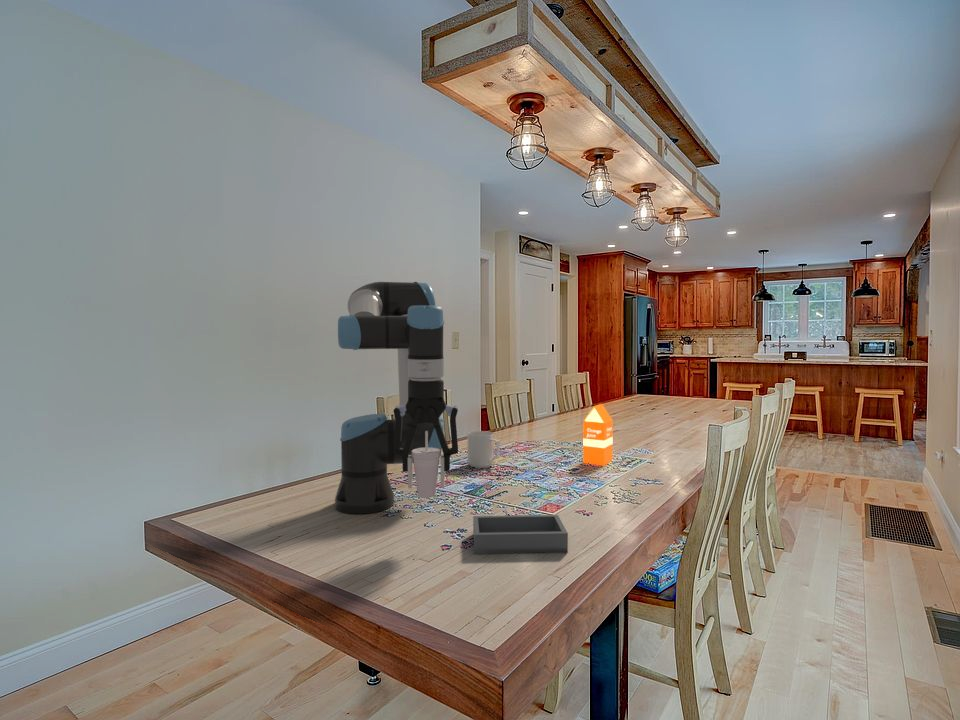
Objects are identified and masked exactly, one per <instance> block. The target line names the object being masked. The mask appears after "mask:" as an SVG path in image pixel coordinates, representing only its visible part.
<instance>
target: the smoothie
mask: <svg viewBox="0 0 960 720" xmlns="http://www.w3.org/2000/svg"><path fill="white" fill-rule="evenodd" d="M441 455H442V450H440V449H438V448H432V447H428V431H425V447H424V448H417V449H414V450H412V451H411V456H412V457H413V462H414V463H413V469H414V476H415V482H416V484H415V485H416V491H417V496H418V497H419V498H420V499H421V498H423V499H429V498H433V497H436V491H437V483H438V475H439V465H440V459H441Z"/></svg>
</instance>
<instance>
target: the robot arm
mask: <svg viewBox="0 0 960 720" xmlns="http://www.w3.org/2000/svg"><path fill="white" fill-rule="evenodd" d="M347 311H348V313H349V315H340V316H339V318H338V320H337V342H338V343H337V344H338V347H339V348H341V349H342V350H353V351H358V350H397V367H398V370H397V371H398V373H397V374H398V392H399V393H398V397H399V402H398V403H399V406H395V408H394V409H393V418H392V419H388V417H387V415H386V414H384V413H373V414H365V415H360V416H359V415H358V416H355V417H351V418H349V419H347V420H344V422H343V423H342V425H341V430H340V431H341V433H340V439H339V440H340V444H341V447H340V448H341V452H340V453H341V456H340V457H341V458H340V459H341V460H340V461H341V479H340V481H339V484H338V488H337V492H336V494H335V497H334V498H335V499H334V506H335V507H334V508H335V509H336V510H337V511H339V512H341V513H344V514H353V515H354V514H355V515H356V514H357V515H362V514H363V515H364V514H371V513H373V514H374V513H377V512H378V513H379V512H381V511H385V510H387V509H389V508H391V507H393V505H395V494H394V490H393V487H392V484H391V482H390V480H389V479H390V478H389V477H388V465H396V464H402V472H403V473H407V488H408V489H412V487H413V485H414V483H413V480H414V479H413V472H414V471H413V469H414V462H413V457H412V456H411V451H412V450H414V449H417V448H424V447H425V431H428V447H432V448H438V449H440V450H441V452H442V453H443V454H441V456H440V489H445V484H446V483H445V482H446V481H445V478H446V477H445V476H446V475H445V474H446V473H445V472H450V468H451V464H450V462H451V457H452V456H453V455H457V454H458V453H459V443H458V431H457V415H458V411H459V410H458V406H456V405H454V406H451V405H448V404H447V403H446V401H445V398H444V397H445V396H444V393H445V391H444V389H445V388H444V384H445V383H444V381H443V379H442V378H444V376H445V375H444V373H445V372H444V371H445V370H444V365H445V364H444V361H445V359H444V325H445V320H444V310H443V307H441V306H440V305H436V298H435V294H434V291H433V288H432V286H431V285H430V284H428V283H427V282H418V281H413V282H411V281H409V282H404V281H403V282H401V281H375V282H371V283H370V282H369V283H367V284H364V285H363V286H360V287H358V288H357V289H355V290H354V291H352V293H351V294H350V296H349V298H348V300H347ZM445 411H446V415H447V416H448V417H449V426H450V438H451V447H450V448H449V445H448V441H447V439H446V436H445V432H444V429H445V424H444V420H445V419H444V418H443V417H441V416H442V414H443V413H444V412H445Z"/></svg>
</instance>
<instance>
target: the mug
mask: <svg viewBox="0 0 960 720" xmlns="http://www.w3.org/2000/svg"><path fill="white" fill-rule="evenodd" d="M466 434H467V435H466V436H467V439H466V440H467V442H466V443H467V453H466V454H467V465H468V466H469V467H470V466H471V467H470V468H472V467H475V468H474V469H478V468H483V469H486V468H485V467H489V468H491V467H492V466H493V465H494V463H495V460H497V459H498V458H499V456H500V447H501V445H500V443H501V440H499V439H497V438H494V432H492V431H488V430H487V431H486V430H476V431H469V432H468V433H466ZM494 442H495V443H496V445H495V446H496V449H495V448H494V444H495V443H494ZM494 449H495V453H494ZM494 454H495V457H494ZM490 466H491V467H490Z"/></svg>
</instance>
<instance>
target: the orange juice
mask: <svg viewBox="0 0 960 720" xmlns="http://www.w3.org/2000/svg"><path fill="white" fill-rule="evenodd" d="M613 421H614V420H613V418H612V417H611V416H610V414H609V413H608V411H607V409H606V407H605V406H604V404H603V403H599V404H597V405H594V406H593V407H592V409H591V410H590V411H589V413H588V414H587V416H586V417H585V418H584V420H583V421H582V423H583V424H582V426H583V428H582V429H583V431H582V432H583V435H582V436H583V437H582V442H583V444H582V445H583V446H582V447H583V448H582V450H583V452H582V454H583V456H582V460H583V461H582V462H583V464H588V463H589V464H588V465H595V464H596V466H597V465H598V466H603V467H604V466H606V465H607V464H609V463H611V462H613V437H614V435H613V432H614V431H613V429H614V428H613V426H614V425H613V424H614V423H613Z"/></svg>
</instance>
